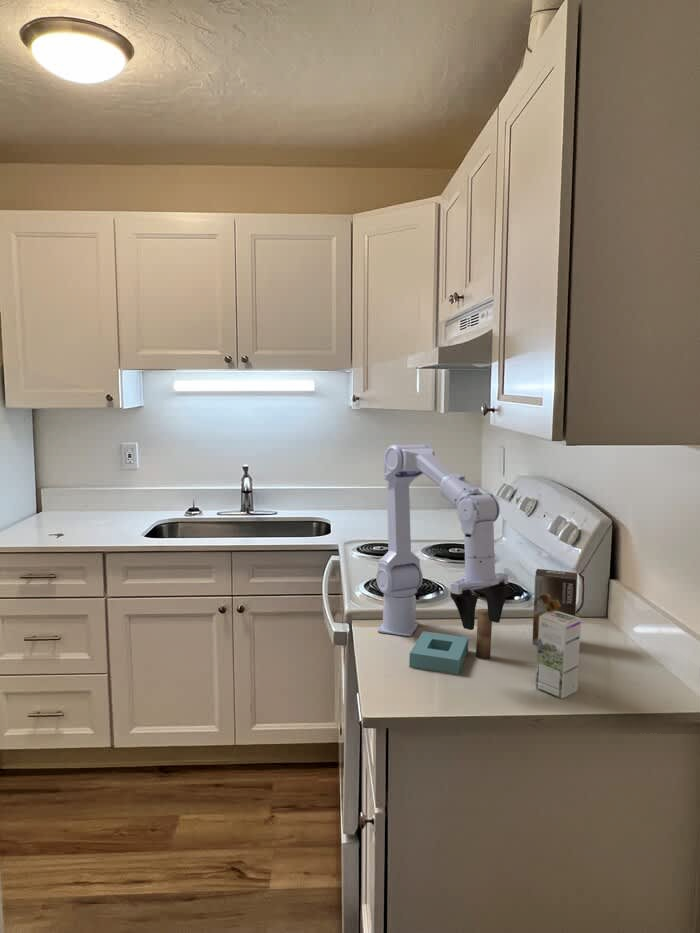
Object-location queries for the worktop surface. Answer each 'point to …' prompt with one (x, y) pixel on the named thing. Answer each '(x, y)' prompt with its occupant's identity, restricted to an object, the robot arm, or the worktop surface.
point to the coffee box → (553, 595)
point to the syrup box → (558, 653)
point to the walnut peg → (483, 635)
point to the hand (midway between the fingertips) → (481, 625)
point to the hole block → (439, 652)
